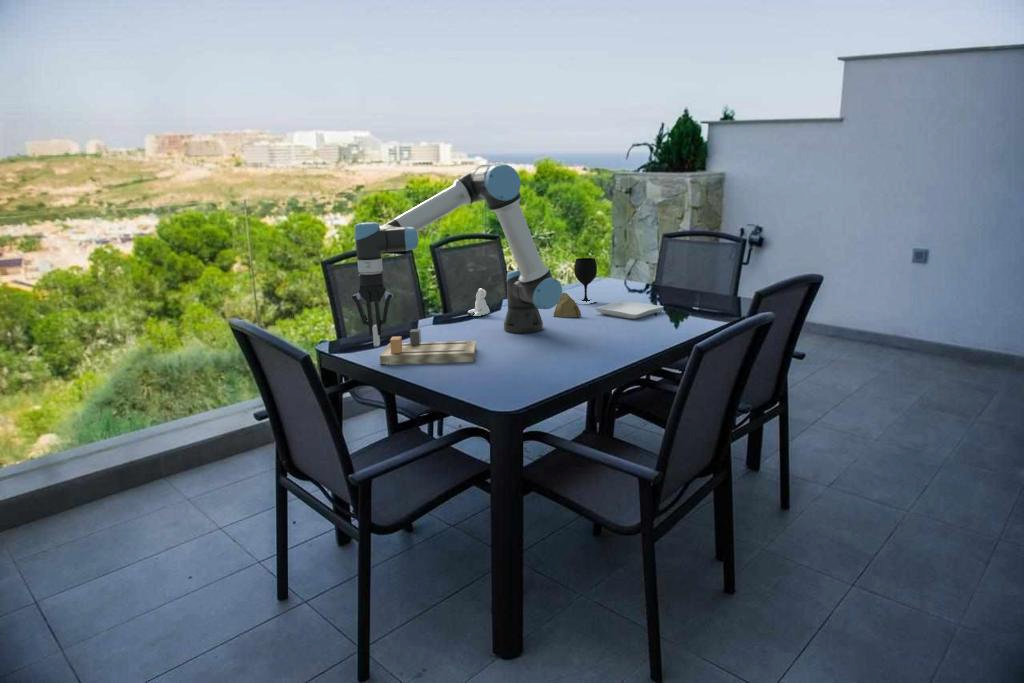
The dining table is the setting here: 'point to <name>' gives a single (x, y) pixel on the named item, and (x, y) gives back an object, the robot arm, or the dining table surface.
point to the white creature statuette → (480, 304)
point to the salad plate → (628, 309)
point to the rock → (567, 307)
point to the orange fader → (396, 344)
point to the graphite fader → (415, 337)
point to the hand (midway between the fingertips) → (377, 345)
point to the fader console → (431, 353)
